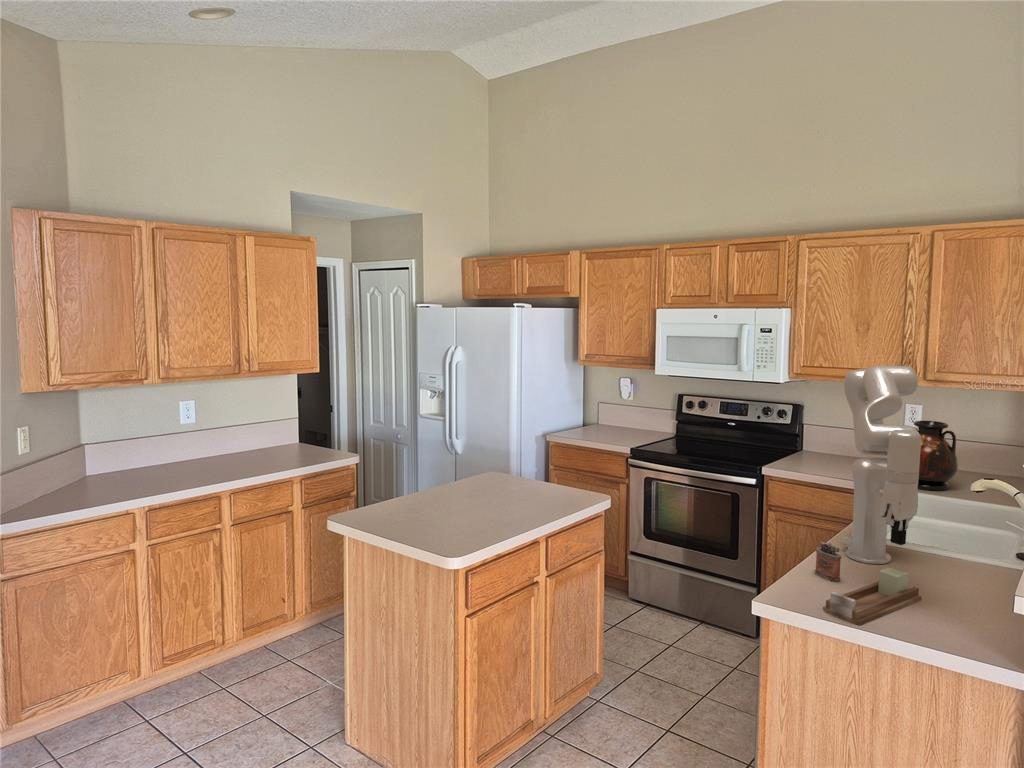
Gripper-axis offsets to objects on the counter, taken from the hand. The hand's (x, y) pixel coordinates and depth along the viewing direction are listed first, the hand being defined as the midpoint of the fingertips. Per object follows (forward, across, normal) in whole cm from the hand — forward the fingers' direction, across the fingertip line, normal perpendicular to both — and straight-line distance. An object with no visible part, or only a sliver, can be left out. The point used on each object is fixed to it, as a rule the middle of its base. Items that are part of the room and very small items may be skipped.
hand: (897, 543), depth 187 cm
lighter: (+15, +4, -18) cm, 24 cm away
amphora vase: (+16, -123, -58) cm, 137 cm away
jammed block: (+14, +2, 0) cm, 14 cm away
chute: (+15, +10, 0) cm, 18 cm away
